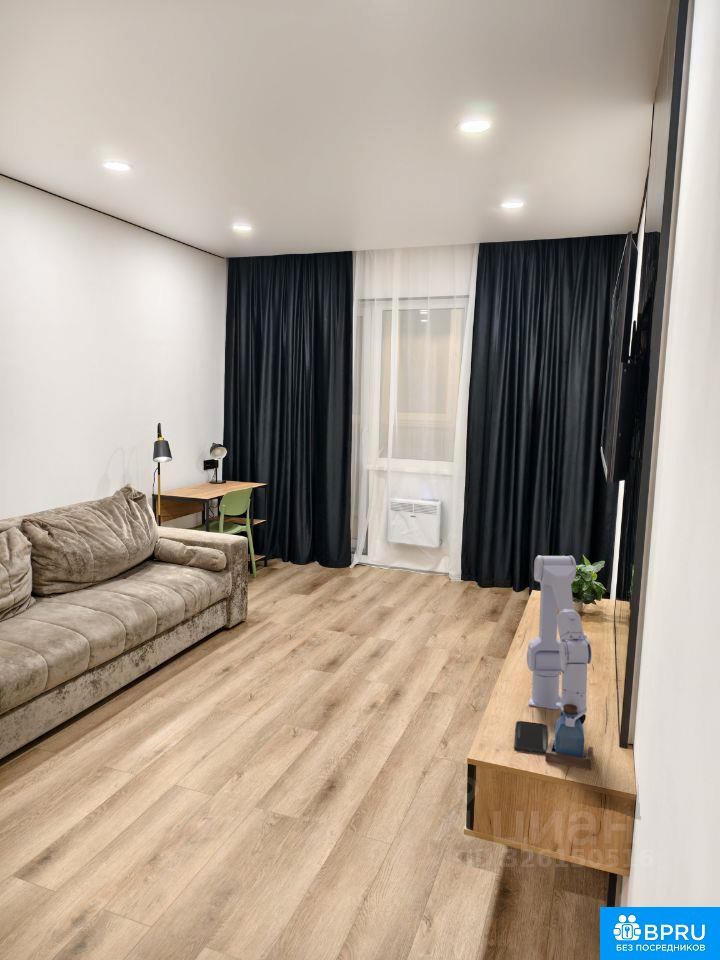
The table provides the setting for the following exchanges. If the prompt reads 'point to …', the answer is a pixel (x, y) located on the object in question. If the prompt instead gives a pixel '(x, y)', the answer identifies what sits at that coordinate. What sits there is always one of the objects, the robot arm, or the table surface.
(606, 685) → the table surface
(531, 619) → the table surface
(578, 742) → the perfume bottle
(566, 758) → the bracket
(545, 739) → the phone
